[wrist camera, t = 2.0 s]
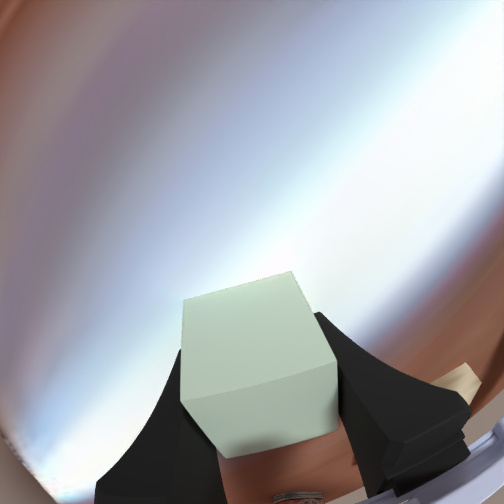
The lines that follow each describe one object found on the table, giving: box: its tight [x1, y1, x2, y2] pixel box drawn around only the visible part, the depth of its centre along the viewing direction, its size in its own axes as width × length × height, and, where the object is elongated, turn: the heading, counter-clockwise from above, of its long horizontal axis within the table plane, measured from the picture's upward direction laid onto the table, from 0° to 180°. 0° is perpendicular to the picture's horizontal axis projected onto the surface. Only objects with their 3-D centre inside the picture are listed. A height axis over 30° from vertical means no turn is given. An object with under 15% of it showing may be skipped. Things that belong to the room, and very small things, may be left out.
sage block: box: [180, 271, 338, 458], centre depth 11 cm, size 4×4×5 cm
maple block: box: [429, 363, 481, 405], centre depth 21 cm, size 10×10×3 cm
